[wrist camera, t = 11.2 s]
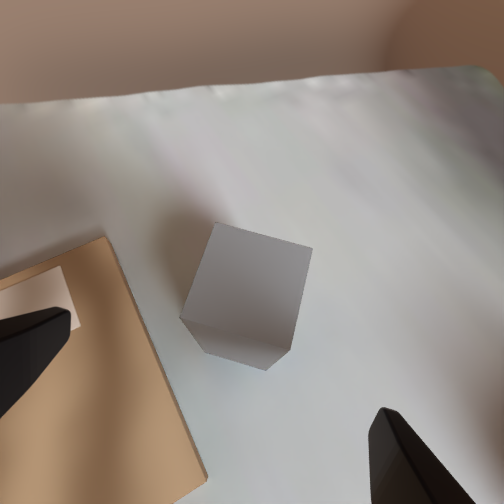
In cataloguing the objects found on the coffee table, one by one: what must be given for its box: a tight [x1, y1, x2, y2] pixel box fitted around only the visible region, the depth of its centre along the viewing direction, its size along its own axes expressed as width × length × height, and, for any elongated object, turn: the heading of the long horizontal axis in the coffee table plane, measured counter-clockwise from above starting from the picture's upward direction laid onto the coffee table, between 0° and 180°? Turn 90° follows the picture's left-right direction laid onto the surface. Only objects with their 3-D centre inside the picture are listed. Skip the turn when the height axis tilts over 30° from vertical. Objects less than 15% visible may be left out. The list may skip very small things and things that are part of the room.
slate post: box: [180, 222, 313, 371], centre depth 17 cm, size 4×4×10 cm
